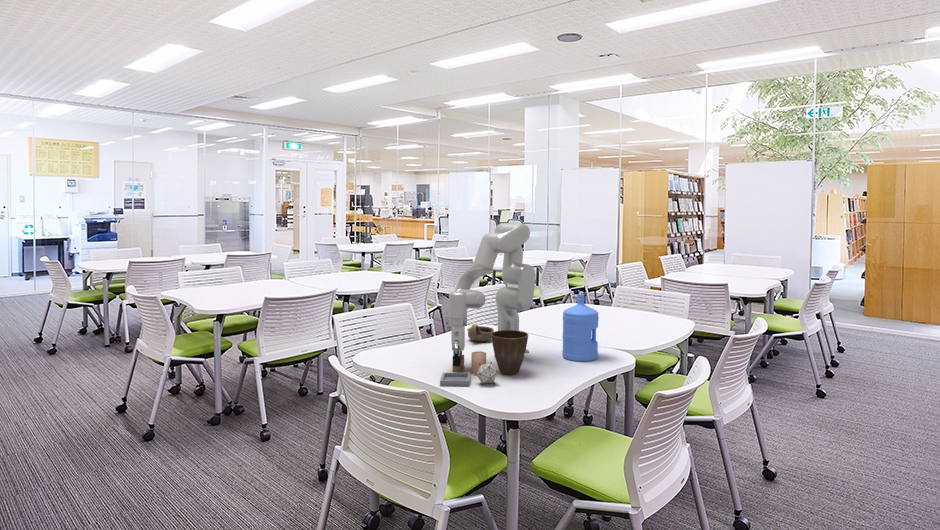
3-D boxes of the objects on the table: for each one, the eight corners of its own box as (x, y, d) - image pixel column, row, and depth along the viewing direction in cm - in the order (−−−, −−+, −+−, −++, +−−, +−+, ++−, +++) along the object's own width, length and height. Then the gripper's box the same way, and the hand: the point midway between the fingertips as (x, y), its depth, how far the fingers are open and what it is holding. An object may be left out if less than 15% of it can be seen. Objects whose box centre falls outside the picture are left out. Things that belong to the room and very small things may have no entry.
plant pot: (530, 368, 234) (530, 330, 232) (525, 379, 219) (525, 338, 218) (494, 366, 237) (494, 329, 235) (488, 376, 222) (487, 337, 221)
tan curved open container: (498, 339, 288) (498, 320, 287) (484, 346, 273) (484, 326, 272) (474, 336, 294) (474, 318, 293) (459, 343, 278) (459, 324, 277)
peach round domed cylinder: (486, 370, 231) (486, 351, 231) (486, 374, 225) (486, 355, 225) (471, 370, 232) (471, 351, 231) (471, 374, 226) (471, 355, 225)
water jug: (569, 362, 242) (569, 298, 240) (557, 353, 258) (558, 293, 255) (603, 361, 245) (604, 297, 242) (590, 352, 260) (591, 292, 258)
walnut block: (464, 368, 234) (464, 354, 234) (463, 371, 230) (463, 357, 229) (453, 368, 234) (453, 354, 234) (452, 371, 230) (452, 357, 229)
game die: (490, 394, 212) (496, 378, 206) (469, 385, 214) (475, 369, 207) (498, 377, 219) (503, 361, 213) (477, 368, 220) (483, 352, 214)
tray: (470, 377, 221) (470, 372, 221) (469, 386, 210) (469, 381, 210) (442, 377, 222) (442, 372, 222) (440, 386, 211) (440, 380, 211)
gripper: (465, 325, 221) (465, 368, 222) (468, 318, 238) (467, 358, 240) (446, 325, 221) (446, 368, 223) (450, 318, 239) (449, 357, 240)
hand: (457, 362), depth 231 cm, fingers open, 9 cm apart
